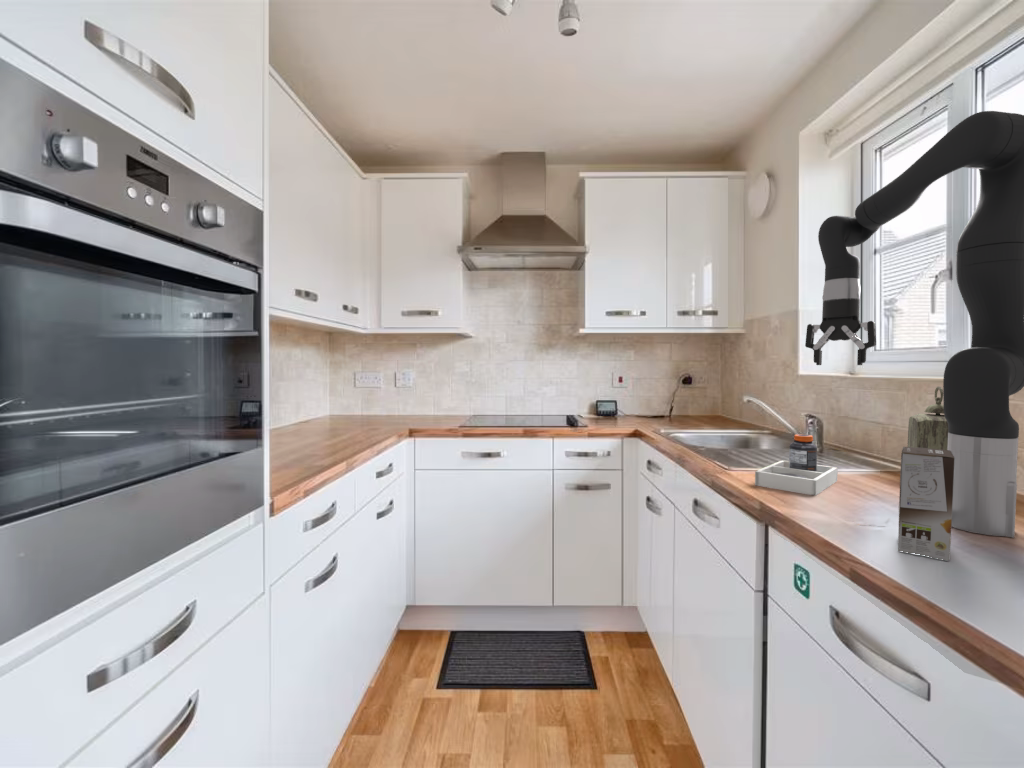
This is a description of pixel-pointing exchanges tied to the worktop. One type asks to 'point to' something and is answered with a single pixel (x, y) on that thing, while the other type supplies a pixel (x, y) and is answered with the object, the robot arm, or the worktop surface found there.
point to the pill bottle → (803, 453)
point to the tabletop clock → (929, 427)
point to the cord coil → (792, 475)
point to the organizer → (796, 478)
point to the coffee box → (926, 502)
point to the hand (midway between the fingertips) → (838, 365)
